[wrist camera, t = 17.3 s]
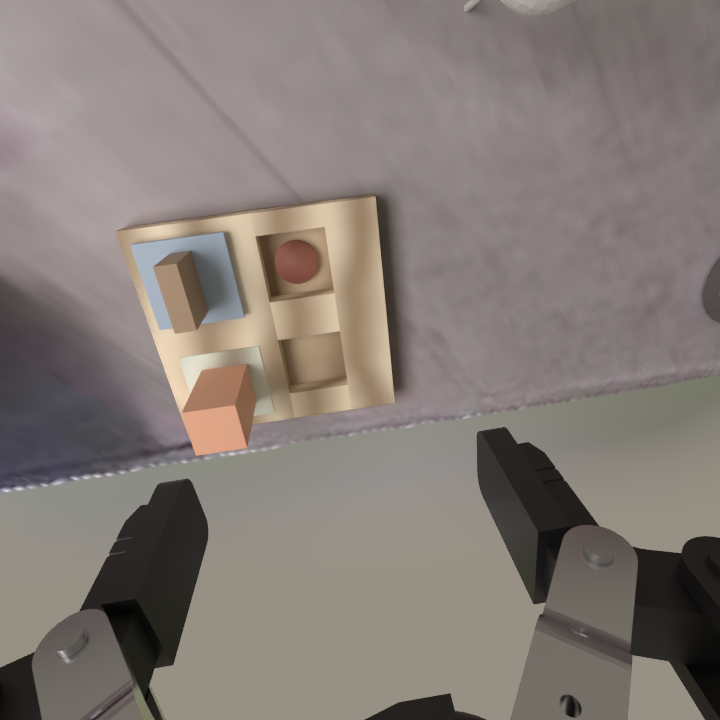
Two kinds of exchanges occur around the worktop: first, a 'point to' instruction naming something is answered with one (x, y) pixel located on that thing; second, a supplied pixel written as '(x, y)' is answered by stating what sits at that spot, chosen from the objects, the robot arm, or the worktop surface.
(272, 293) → the board
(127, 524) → the robot arm
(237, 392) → the block
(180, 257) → the lid
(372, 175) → the worktop surface
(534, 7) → the lollipop
